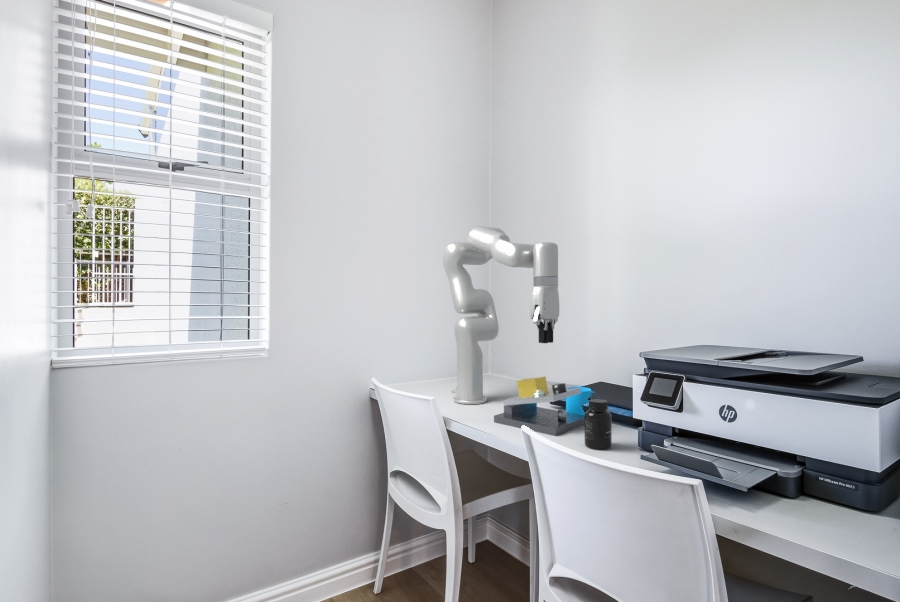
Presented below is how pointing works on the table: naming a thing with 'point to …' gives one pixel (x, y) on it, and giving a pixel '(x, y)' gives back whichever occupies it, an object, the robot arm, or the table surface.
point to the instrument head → (540, 392)
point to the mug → (578, 401)
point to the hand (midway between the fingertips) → (545, 342)
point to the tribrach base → (539, 418)
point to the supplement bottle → (598, 425)
